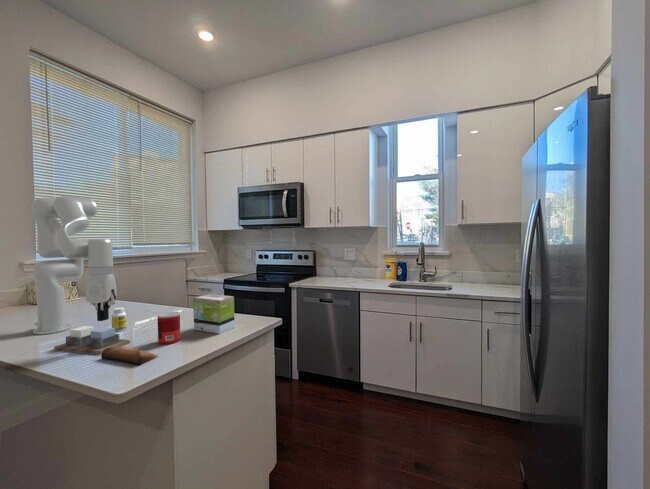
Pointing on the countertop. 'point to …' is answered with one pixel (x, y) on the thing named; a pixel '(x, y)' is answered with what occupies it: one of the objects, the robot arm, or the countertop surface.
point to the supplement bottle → (119, 319)
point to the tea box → (213, 313)
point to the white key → (81, 331)
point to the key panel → (91, 344)
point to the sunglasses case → (128, 355)
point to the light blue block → (102, 333)
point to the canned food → (168, 328)
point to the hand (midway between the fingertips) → (103, 320)
